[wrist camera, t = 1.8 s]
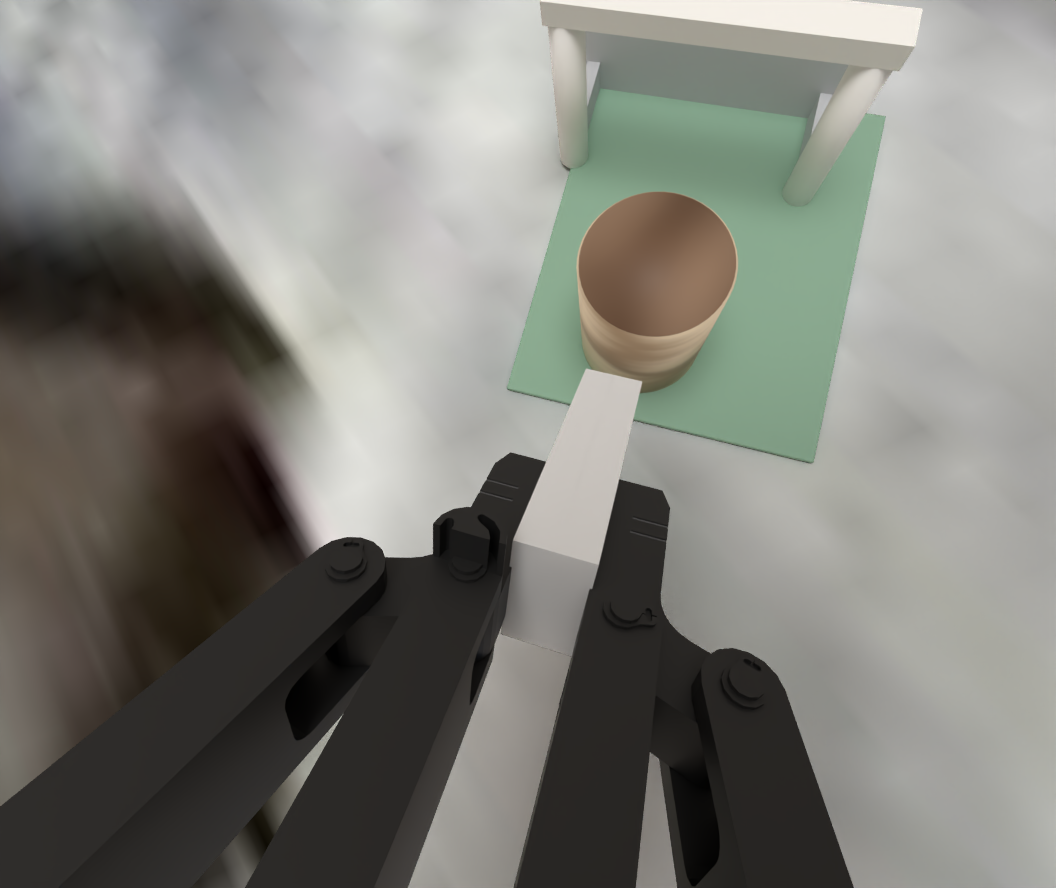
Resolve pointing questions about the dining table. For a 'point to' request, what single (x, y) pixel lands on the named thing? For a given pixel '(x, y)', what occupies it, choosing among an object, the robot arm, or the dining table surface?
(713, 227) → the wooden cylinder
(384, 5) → the dining table surface
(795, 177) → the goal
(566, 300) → the pitch
